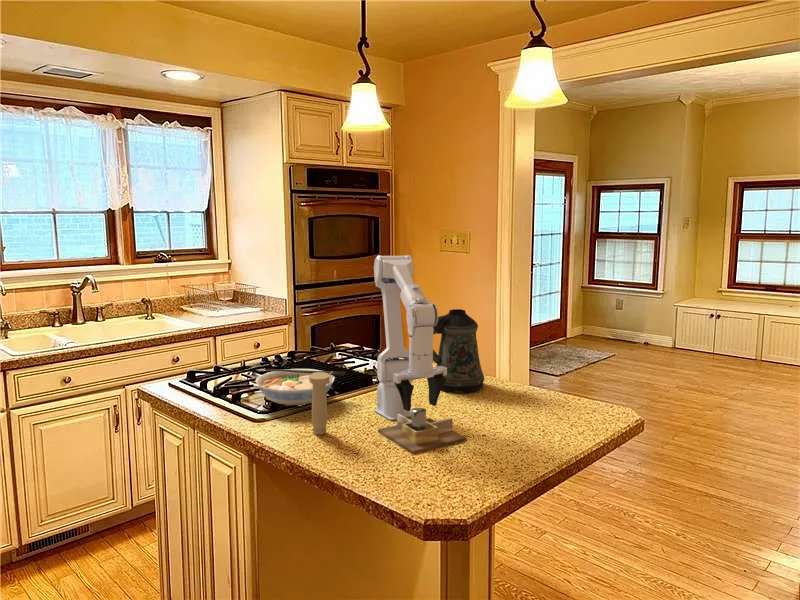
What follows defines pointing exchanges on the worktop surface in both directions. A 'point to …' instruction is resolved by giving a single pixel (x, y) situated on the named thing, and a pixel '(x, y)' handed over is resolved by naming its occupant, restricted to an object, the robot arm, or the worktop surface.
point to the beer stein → (459, 353)
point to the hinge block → (422, 435)
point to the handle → (319, 401)
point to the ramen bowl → (291, 385)
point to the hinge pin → (418, 419)
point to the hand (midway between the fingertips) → (419, 407)
